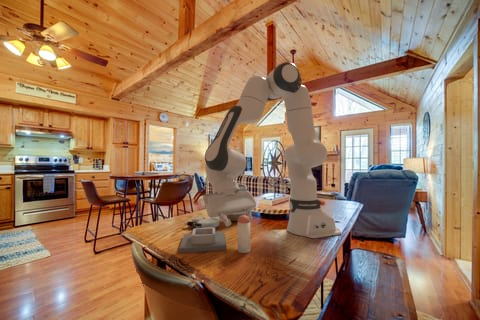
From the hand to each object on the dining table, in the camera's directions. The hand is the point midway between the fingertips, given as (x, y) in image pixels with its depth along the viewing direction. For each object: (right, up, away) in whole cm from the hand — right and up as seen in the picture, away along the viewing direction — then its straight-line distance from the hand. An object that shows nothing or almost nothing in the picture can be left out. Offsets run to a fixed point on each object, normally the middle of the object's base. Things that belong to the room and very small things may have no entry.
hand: (240, 222), depth 74 cm
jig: (-14, -9, +4) cm, 17 cm away
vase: (-2, -9, +34) cm, 35 cm away
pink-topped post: (+1, -9, -2) cm, 9 cm away
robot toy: (-17, -9, +22) cm, 29 cm away
